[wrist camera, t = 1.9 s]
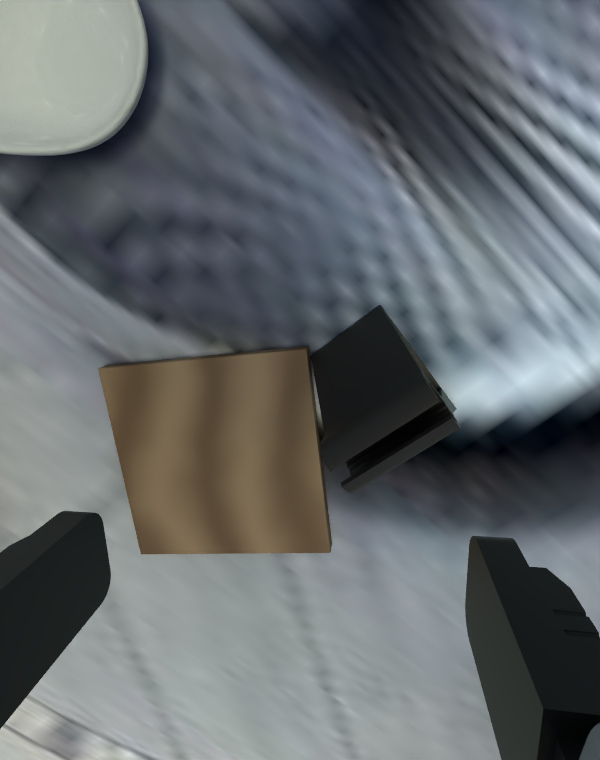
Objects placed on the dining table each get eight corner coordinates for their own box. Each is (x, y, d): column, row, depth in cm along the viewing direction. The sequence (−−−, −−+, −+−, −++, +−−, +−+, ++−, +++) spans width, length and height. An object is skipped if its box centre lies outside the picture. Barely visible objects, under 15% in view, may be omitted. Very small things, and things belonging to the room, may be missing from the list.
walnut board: (308, 346, 31) (306, 348, 30) (331, 543, 35) (330, 552, 34) (107, 365, 34) (98, 368, 33) (148, 545, 38) (141, 554, 37)
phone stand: (311, 354, 32) (276, 403, 20) (380, 304, 30) (386, 325, 18) (384, 451, 32) (390, 551, 21) (455, 407, 31) (505, 489, 19)
